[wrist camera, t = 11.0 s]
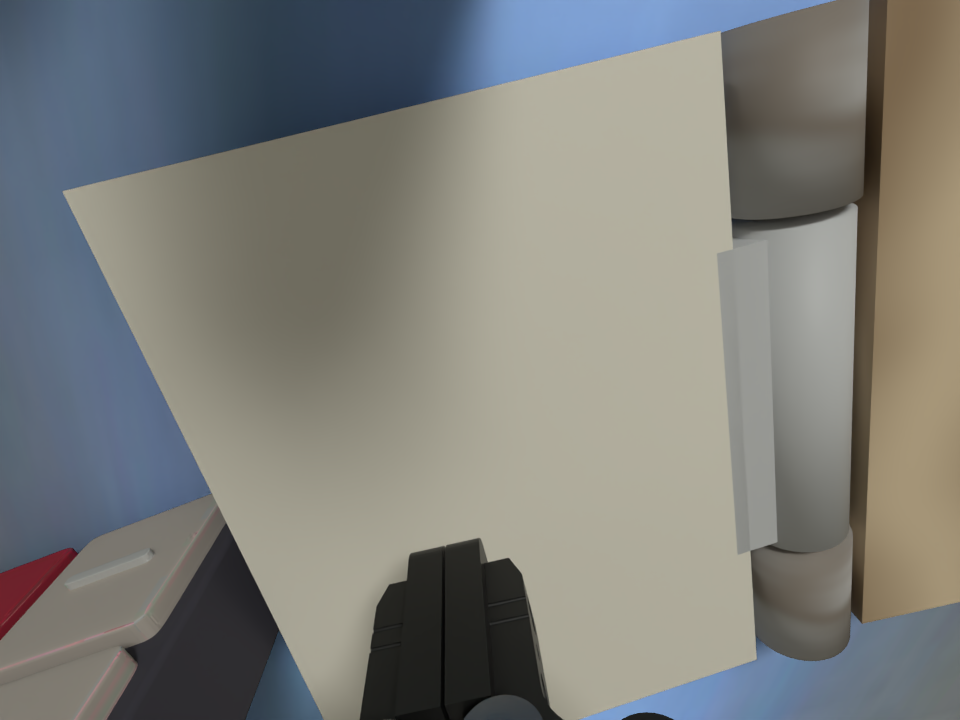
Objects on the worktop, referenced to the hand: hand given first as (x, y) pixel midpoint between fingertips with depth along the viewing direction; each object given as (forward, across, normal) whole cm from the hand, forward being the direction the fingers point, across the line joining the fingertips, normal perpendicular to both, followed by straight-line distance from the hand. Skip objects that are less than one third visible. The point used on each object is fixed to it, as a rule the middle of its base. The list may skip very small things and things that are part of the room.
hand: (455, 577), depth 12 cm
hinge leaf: (+4, -10, 0) cm, 11 cm away
